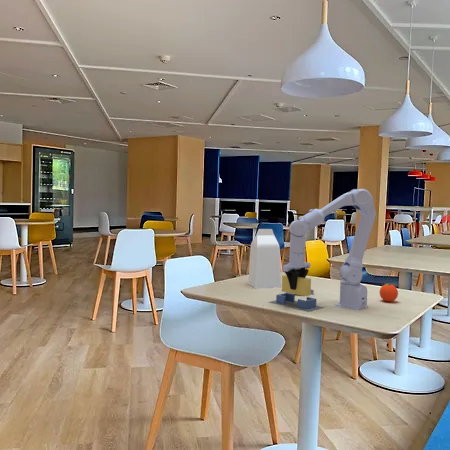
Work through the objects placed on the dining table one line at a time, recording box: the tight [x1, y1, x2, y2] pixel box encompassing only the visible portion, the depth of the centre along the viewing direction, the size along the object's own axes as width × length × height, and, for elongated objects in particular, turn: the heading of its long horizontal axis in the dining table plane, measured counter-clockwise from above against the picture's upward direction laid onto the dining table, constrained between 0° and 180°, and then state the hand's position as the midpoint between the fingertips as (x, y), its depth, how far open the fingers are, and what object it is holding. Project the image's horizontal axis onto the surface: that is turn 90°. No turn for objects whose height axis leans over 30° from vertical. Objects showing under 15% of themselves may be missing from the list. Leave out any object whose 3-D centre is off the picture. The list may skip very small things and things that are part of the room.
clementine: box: [379, 283, 399, 303], centre depth 182 cm, size 8×7×7 cm
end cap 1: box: [275, 292, 296, 304], centre depth 175 cm, size 4×6×3 cm, turn 134°
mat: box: [268, 300, 325, 313], centre depth 172 cm, size 19×10×1 cm, turn 44°
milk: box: [247, 228, 282, 290], centre depth 208 cm, size 12×12×26 cm
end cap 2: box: [296, 296, 317, 310], centre depth 168 cm, size 4×6×3 cm, turn 134°
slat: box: [281, 274, 312, 297], centre depth 172 cm, size 11×3×6 cm, turn 44°
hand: (296, 288), depth 172 cm, fingers closed on slat, 3 cm apart
